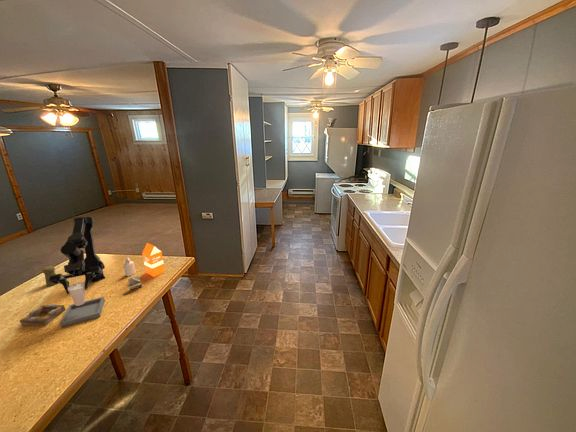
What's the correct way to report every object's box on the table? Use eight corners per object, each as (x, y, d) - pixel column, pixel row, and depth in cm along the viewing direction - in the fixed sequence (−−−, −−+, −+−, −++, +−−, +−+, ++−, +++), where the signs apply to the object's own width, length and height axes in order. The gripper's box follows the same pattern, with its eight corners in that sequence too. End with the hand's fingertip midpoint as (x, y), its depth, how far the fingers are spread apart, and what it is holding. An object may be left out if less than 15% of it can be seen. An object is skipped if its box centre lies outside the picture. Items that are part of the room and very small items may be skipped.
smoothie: (91, 298, 118) (86, 274, 114) (83, 307, 112) (77, 281, 108) (77, 299, 117) (71, 274, 113) (67, 307, 111) (61, 282, 107)
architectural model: (143, 288, 136) (140, 277, 134) (129, 293, 132) (126, 282, 130) (141, 286, 139) (139, 275, 137) (127, 290, 134) (125, 279, 132)
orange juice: (153, 277, 147) (147, 248, 141) (145, 272, 152) (140, 244, 146) (165, 271, 154) (160, 243, 147) (157, 267, 158) (152, 240, 152)
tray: (70, 309, 119) (69, 305, 118) (104, 300, 125) (103, 296, 125) (62, 327, 107) (60, 323, 107) (100, 316, 114) (99, 312, 113)
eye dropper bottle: (125, 273, 150) (121, 257, 147) (135, 271, 154) (132, 254, 150) (125, 276, 147) (121, 260, 143) (136, 274, 150) (132, 257, 146)
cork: (51, 287, 136) (45, 270, 133) (43, 285, 137) (37, 269, 134) (63, 281, 142) (57, 265, 138) (55, 280, 143) (49, 264, 140)
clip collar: (44, 309, 118) (42, 303, 117) (65, 310, 118) (63, 303, 117) (21, 325, 108) (19, 319, 107) (45, 325, 108) (42, 319, 107)
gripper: (43, 260, 106) (42, 294, 100) (95, 251, 115) (96, 282, 109) (54, 267, 115) (53, 299, 109) (101, 258, 124) (103, 287, 118)
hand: (77, 292), depth 111 cm, fingers closed on smoothie, 6 cm apart
